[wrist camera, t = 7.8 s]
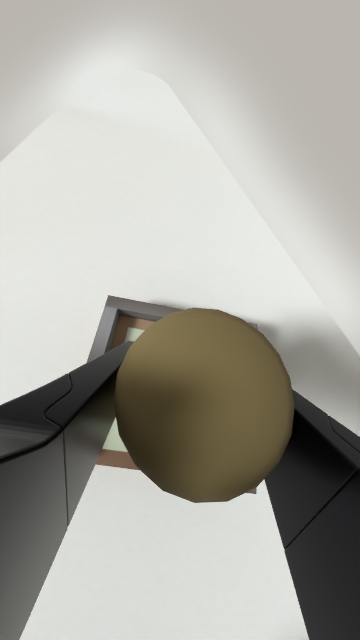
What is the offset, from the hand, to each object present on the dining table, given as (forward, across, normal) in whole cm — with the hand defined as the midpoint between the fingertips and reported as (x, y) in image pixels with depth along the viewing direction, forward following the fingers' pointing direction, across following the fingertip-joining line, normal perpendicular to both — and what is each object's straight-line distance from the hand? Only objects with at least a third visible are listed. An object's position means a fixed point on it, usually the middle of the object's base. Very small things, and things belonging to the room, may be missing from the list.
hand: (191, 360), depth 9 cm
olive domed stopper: (+4, 0, +6) cm, 7 cm away
